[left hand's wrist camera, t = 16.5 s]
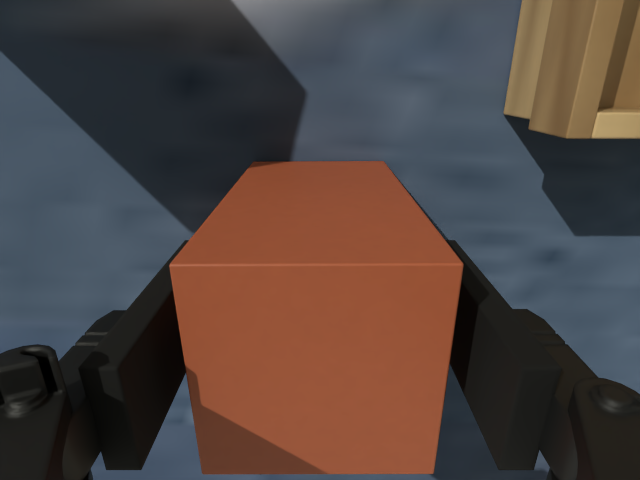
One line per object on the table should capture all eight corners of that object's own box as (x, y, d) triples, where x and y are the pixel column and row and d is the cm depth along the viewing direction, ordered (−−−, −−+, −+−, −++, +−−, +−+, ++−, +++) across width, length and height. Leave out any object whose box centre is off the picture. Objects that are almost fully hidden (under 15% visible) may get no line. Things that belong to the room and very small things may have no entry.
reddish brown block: (260, 278, 21) (201, 475, 10) (252, 161, 18) (167, 264, 8) (377, 278, 21) (434, 474, 10) (384, 160, 18) (465, 263, 8)
